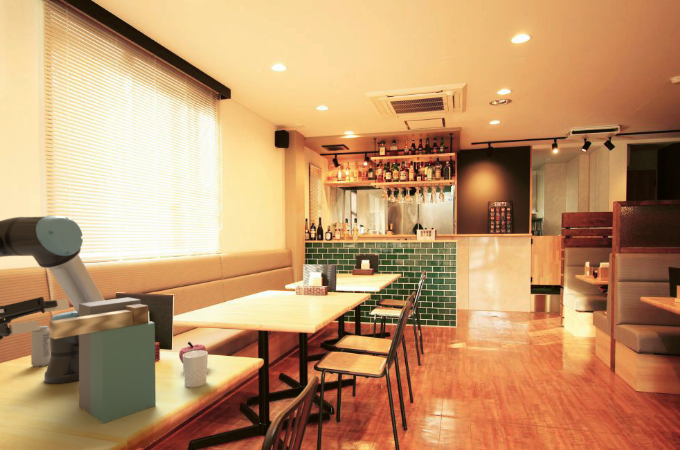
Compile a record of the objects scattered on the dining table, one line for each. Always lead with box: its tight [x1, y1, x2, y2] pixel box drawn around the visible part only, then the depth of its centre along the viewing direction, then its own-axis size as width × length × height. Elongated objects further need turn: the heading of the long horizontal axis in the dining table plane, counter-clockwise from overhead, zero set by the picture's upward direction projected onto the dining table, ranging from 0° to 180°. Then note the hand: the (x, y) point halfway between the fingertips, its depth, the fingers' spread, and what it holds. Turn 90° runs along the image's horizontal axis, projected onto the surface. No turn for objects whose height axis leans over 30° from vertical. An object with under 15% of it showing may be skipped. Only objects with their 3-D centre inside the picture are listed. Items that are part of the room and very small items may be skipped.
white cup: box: [182, 350, 209, 388], centre depth 134 cm, size 8×8×10 cm
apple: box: [178, 341, 207, 364], centre depth 149 cm, size 10×9×10 cm
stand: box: [78, 297, 157, 424], centre depth 118 cm, size 14×18×30 cm
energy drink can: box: [30, 325, 51, 368], centre depth 158 cm, size 6×6×15 cm
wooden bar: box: [49, 303, 150, 339], centre depth 111 cm, size 23×6×5 cm, turn 140°
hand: (52, 314), depth 108 cm, fingers open, 13 cm apart
